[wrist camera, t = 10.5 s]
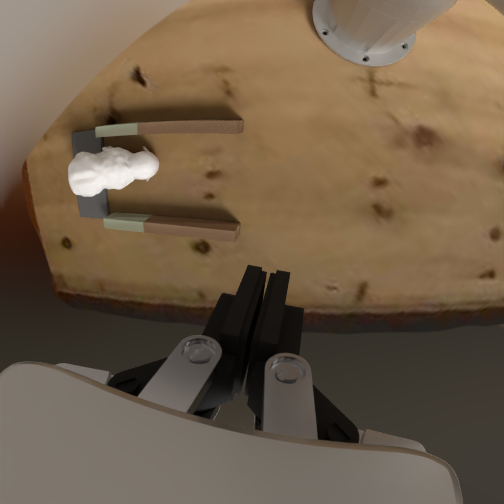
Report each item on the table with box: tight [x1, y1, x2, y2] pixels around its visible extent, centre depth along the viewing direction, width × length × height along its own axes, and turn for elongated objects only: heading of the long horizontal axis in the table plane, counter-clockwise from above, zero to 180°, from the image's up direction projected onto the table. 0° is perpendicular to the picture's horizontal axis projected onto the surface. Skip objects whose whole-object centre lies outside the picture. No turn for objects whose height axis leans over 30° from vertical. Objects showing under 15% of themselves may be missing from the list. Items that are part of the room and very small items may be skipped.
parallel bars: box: [95, 120, 243, 242], centre depth 38 cm, size 15×20×3 cm
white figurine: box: [68, 146, 159, 197], centre depth 36 cm, size 6×8×12 cm
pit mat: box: [72, 130, 110, 219], centre depth 41 cm, size 14×6×1 cm, turn 178°
